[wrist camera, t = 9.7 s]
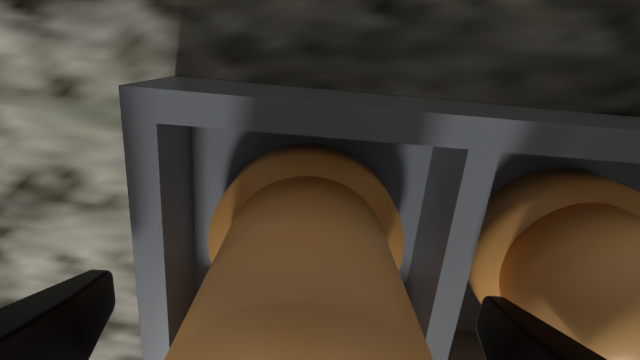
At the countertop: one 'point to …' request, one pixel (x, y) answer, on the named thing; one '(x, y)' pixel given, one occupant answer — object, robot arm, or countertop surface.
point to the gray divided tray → (405, 201)
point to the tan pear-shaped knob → (303, 266)
